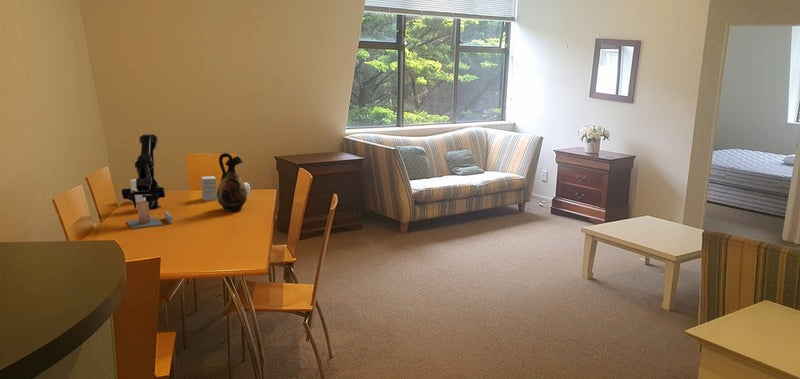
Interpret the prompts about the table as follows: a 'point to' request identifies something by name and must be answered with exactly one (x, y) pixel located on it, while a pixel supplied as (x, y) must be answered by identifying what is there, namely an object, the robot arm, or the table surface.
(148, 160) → the robot arm
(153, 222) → the mat
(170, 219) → the low divider
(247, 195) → the penguin figurine
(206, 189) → the supplement box
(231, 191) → the ceramic jug
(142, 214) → the pale pink tall block
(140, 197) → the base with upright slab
